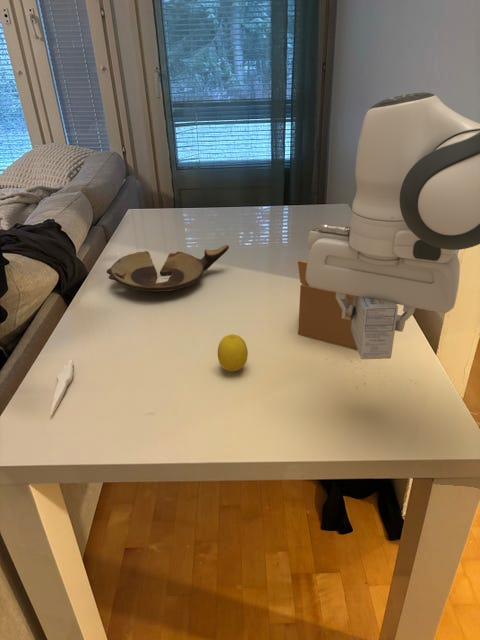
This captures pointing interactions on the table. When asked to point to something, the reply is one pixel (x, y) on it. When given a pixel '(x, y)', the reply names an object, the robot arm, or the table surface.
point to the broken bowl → (162, 270)
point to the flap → (302, 271)
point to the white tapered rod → (62, 384)
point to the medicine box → (374, 327)
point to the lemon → (232, 352)
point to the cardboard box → (324, 317)
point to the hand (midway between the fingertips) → (372, 323)
